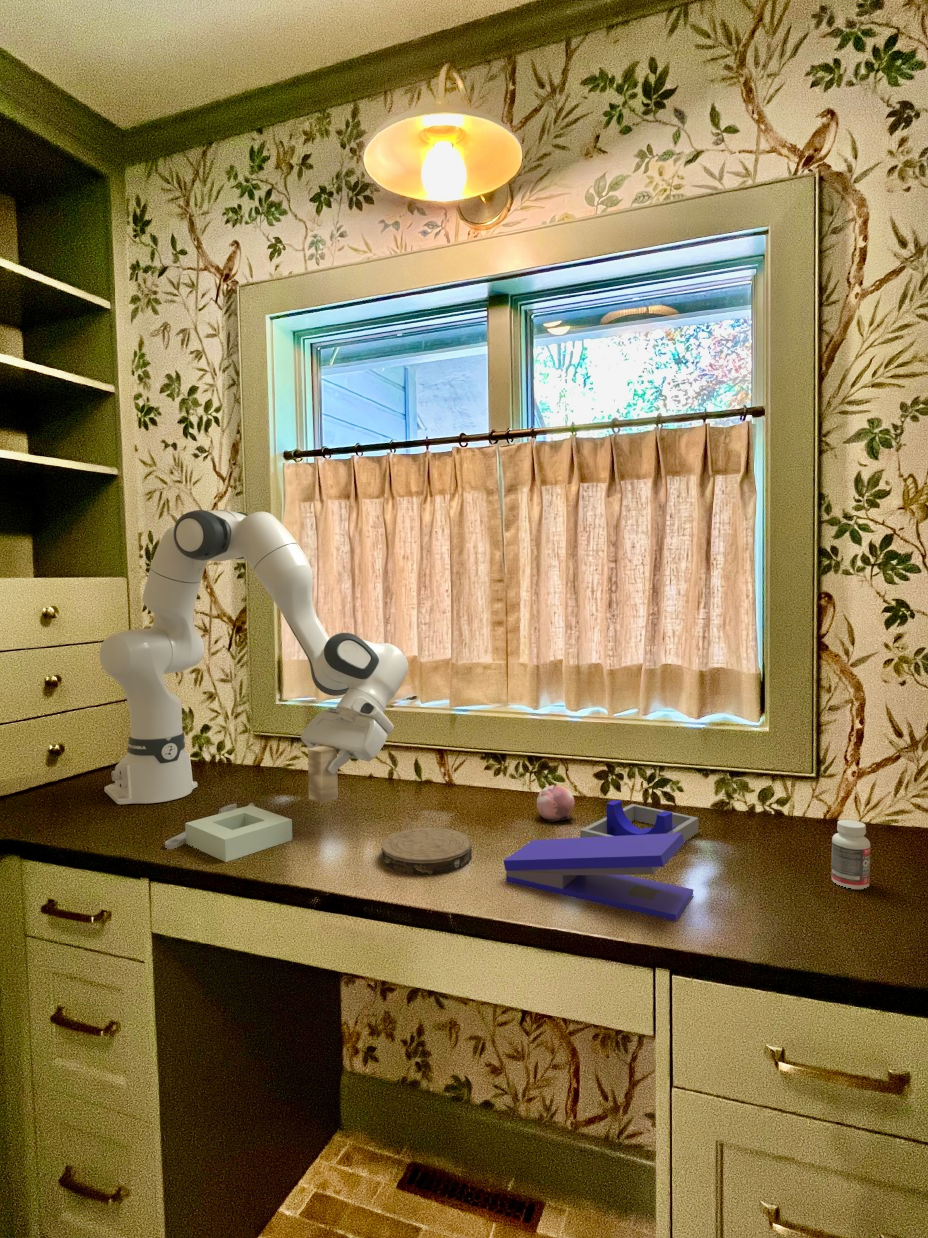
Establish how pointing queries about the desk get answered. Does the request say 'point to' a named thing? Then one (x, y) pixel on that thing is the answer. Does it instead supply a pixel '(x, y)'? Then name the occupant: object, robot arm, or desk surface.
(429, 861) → the wood slice
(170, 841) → the adjustable wrench
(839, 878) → the pill bottle
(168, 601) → the robot arm
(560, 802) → the onion
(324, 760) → the wooden block
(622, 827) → the blue cradle holder
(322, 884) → the desk surface
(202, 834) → the pale green square frame
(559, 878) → the stapler
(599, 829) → the clip corral
